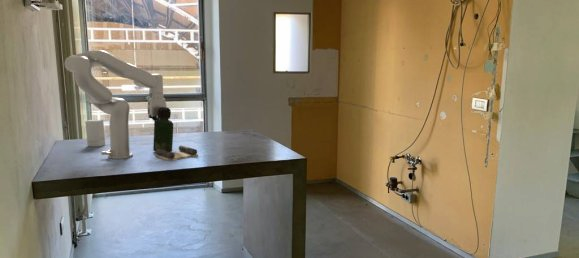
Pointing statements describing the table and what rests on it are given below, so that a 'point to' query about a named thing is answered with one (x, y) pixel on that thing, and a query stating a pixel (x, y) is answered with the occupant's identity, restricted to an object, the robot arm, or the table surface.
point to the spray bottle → (163, 130)
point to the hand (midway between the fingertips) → (157, 127)
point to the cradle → (176, 153)
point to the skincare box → (95, 133)
